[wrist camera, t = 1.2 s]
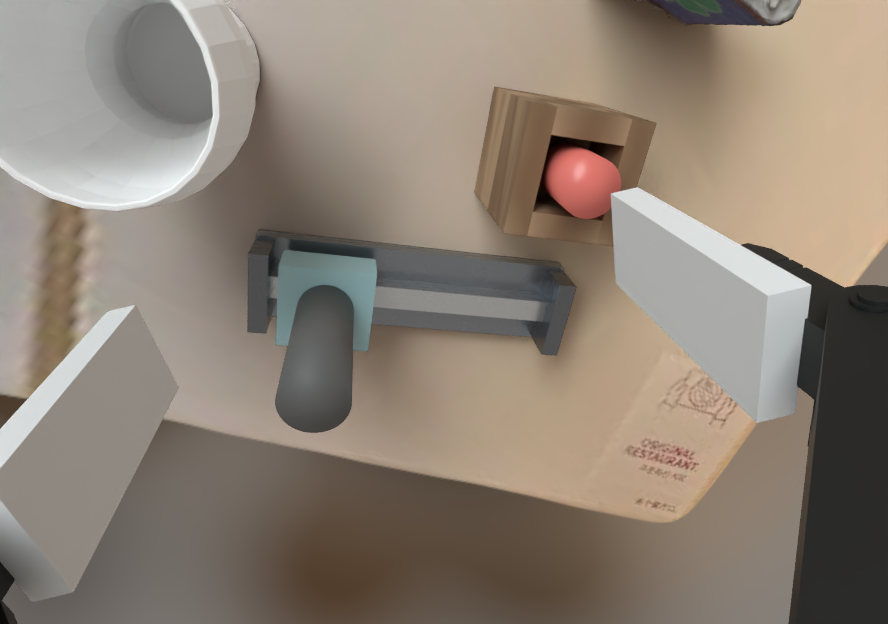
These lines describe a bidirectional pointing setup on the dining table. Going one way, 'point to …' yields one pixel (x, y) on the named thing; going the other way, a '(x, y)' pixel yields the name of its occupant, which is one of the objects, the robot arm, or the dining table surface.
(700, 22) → the flask
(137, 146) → the cup
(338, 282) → the carriage
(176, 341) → the dining table surface
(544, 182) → the button
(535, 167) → the open wooden box
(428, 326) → the rail track
